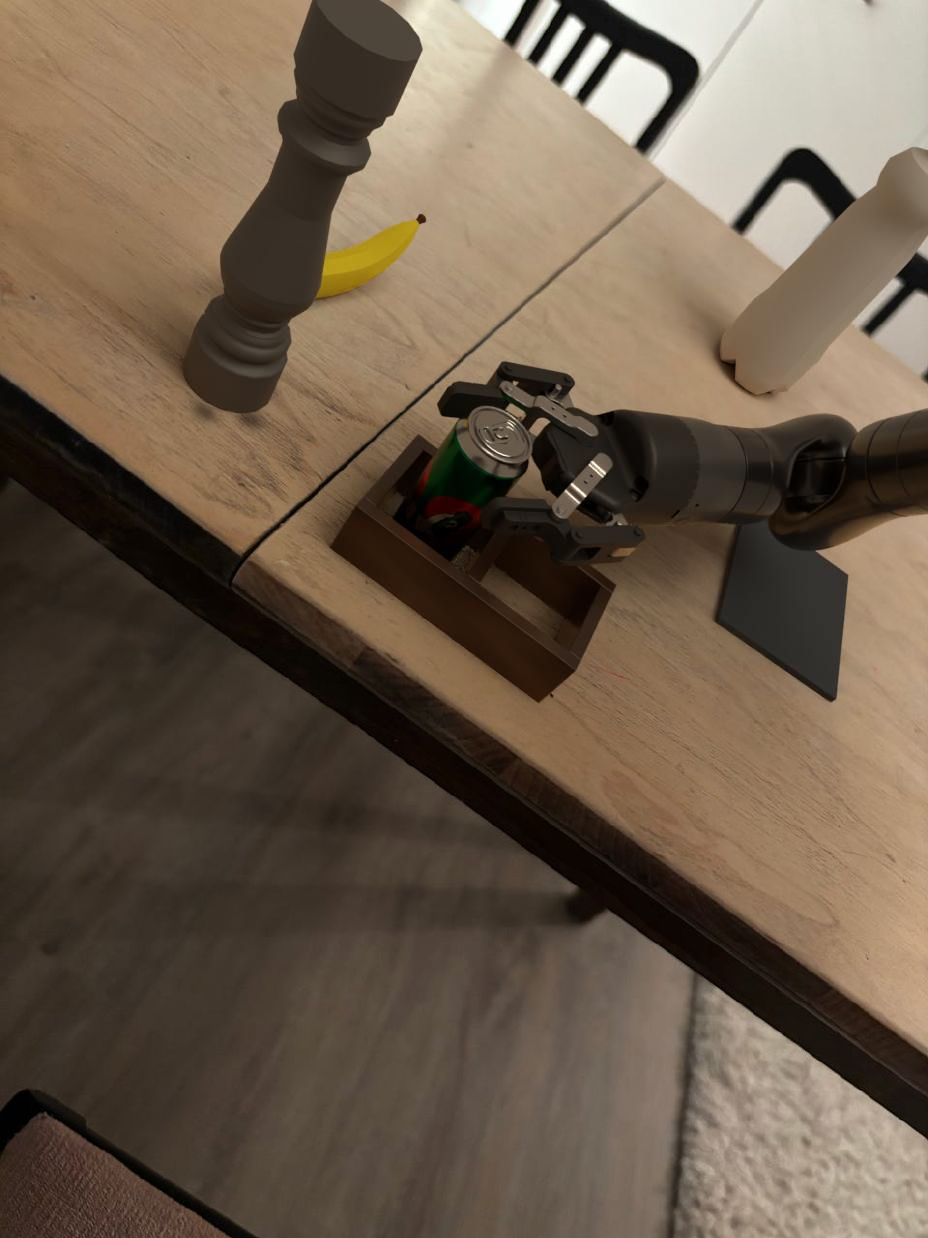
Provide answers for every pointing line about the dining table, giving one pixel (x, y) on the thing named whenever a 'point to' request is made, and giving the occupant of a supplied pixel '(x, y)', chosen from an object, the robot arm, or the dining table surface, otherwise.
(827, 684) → the table mat
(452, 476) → the soda can
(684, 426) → the robot arm
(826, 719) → the dining table surface
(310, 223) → the candle holder
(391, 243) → the banana
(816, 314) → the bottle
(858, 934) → the dining table surface
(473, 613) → the can rack
